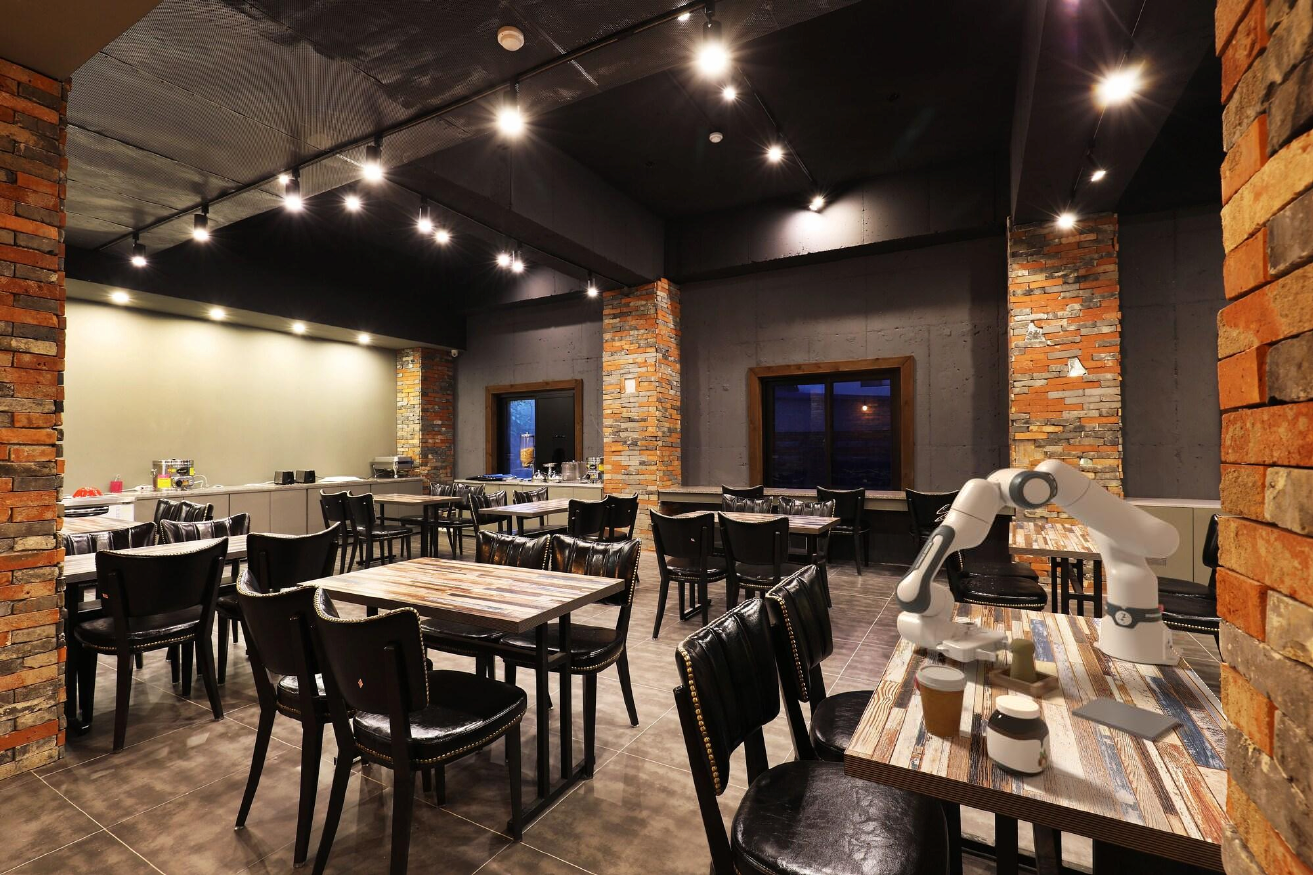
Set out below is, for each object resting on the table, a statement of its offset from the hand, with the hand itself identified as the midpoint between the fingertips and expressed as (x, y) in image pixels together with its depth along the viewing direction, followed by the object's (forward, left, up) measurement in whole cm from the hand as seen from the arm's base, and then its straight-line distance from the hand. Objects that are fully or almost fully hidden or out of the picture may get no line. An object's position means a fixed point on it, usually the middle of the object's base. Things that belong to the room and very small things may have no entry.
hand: (1007, 653), depth 148 cm
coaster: (+1, +25, -6) cm, 26 cm away
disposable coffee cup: (+38, +7, -7) cm, 39 cm away
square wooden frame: (0, +4, -6) cm, 7 cm away
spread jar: (+38, +21, -7) cm, 44 cm away
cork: (0, +4, -7) cm, 8 cm away
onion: (+26, -4, -7) cm, 27 cm away
